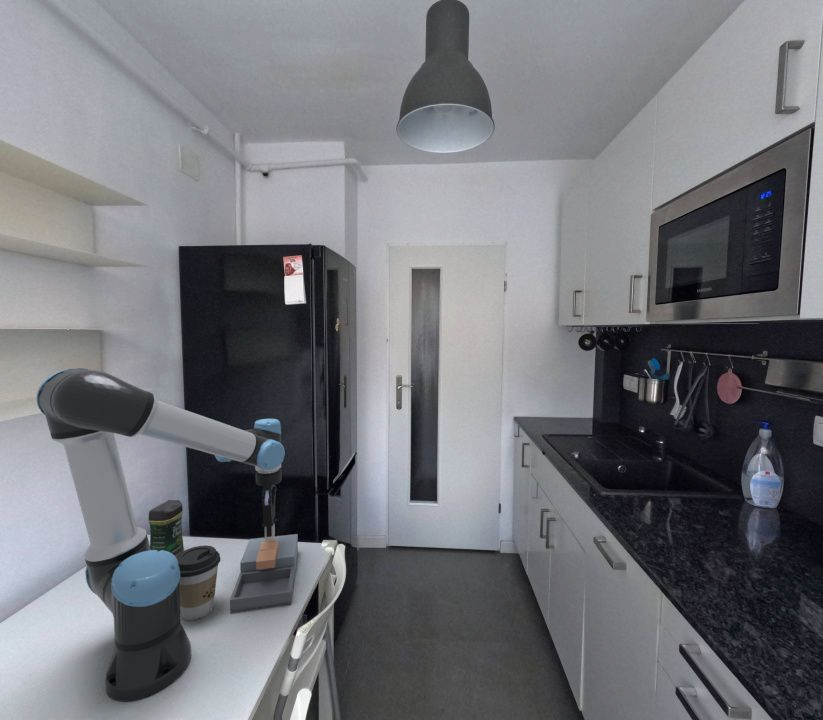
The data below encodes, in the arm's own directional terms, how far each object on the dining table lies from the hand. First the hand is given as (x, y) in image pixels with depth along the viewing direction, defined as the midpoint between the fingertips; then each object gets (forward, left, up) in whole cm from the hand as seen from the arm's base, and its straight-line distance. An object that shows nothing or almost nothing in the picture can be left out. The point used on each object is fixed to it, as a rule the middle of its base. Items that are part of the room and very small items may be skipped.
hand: (269, 544), depth 122 cm
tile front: (-8, 0, -1) cm, 8 cm away
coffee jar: (+11, +33, -7) cm, 35 cm away
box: (-14, 0, -7) cm, 15 cm away
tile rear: (-3, 0, -1) cm, 3 cm away
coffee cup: (-17, +16, -7) cm, 24 cm away
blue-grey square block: (0, 0, -7) cm, 7 cm away
